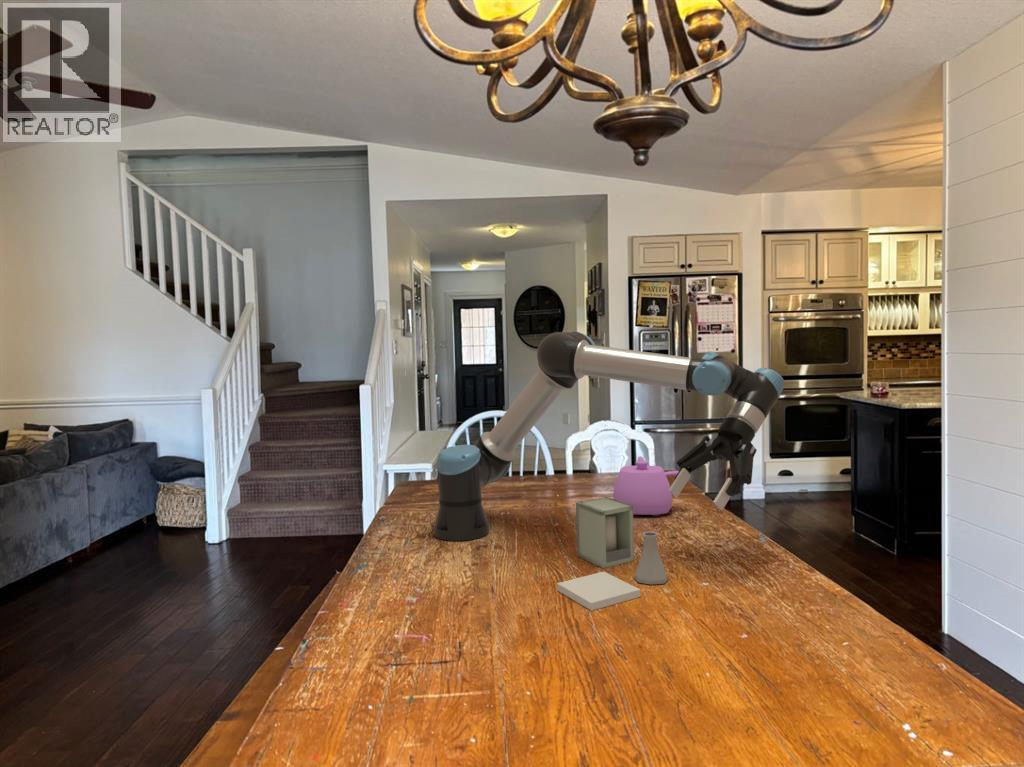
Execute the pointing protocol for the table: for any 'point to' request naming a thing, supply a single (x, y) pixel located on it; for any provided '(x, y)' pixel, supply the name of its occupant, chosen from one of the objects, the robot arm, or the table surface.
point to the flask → (650, 562)
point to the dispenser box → (605, 531)
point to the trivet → (598, 590)
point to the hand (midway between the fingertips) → (694, 499)
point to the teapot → (644, 488)
